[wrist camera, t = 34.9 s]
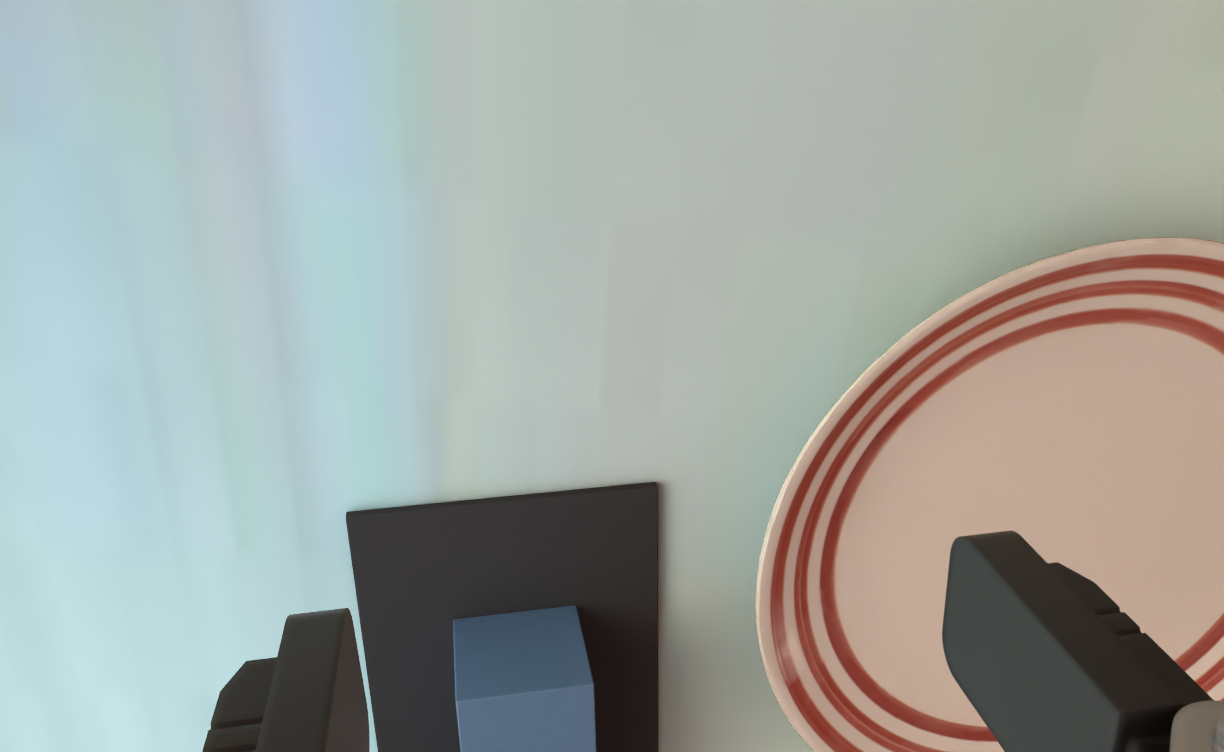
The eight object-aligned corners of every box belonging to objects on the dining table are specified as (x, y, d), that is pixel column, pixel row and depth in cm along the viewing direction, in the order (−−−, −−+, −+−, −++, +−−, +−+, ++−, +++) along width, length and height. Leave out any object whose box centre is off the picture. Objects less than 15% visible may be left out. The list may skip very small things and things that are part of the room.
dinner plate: (983, 857, 52) (1017, 913, 49) (604, 568, 42) (617, 616, 39) (1430, 489, 48) (1498, 526, 45) (1128, 64, 38) (1189, 74, 34)
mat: (655, 481, 41) (657, 486, 41) (656, 823, 48) (658, 830, 48) (346, 511, 39) (345, 517, 39) (394, 861, 46) (394, 868, 46)
